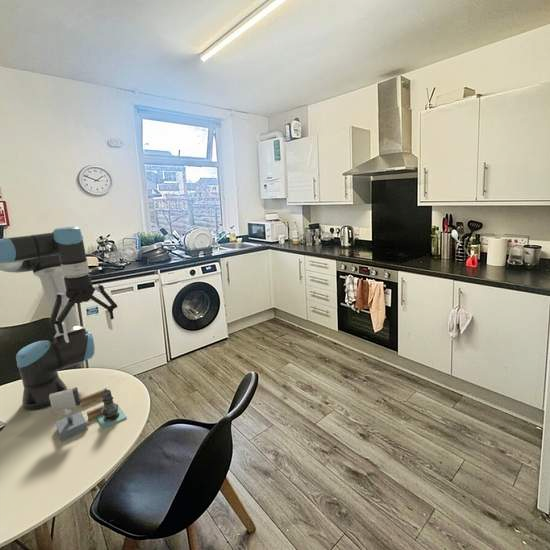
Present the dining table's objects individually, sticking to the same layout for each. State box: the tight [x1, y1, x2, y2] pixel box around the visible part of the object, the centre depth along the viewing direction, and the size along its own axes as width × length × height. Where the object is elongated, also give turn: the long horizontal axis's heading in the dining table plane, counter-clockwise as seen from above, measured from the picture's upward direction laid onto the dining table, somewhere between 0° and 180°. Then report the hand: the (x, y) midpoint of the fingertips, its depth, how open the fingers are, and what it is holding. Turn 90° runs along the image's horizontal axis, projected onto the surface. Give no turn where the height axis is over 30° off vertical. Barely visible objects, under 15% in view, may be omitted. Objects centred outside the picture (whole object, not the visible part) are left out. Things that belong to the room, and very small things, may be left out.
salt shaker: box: [101, 387, 120, 422], centre depth 122 cm, size 6×6×12 cm
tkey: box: [49, 387, 81, 422], centre depth 116 cm, size 8×2×11 cm, turn 113°
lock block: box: [55, 411, 89, 442], centre depth 118 cm, size 8×8×3 cm
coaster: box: [96, 406, 128, 430], centre depth 123 cm, size 8×8×1 cm
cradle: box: [80, 388, 115, 421], centre depth 130 cm, size 12×9×3 cm
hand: (89, 334), depth 116 cm, fingers open, 13 cm apart
